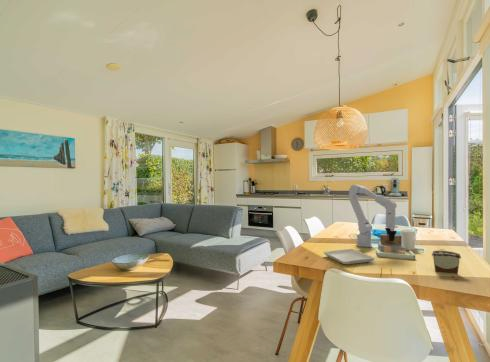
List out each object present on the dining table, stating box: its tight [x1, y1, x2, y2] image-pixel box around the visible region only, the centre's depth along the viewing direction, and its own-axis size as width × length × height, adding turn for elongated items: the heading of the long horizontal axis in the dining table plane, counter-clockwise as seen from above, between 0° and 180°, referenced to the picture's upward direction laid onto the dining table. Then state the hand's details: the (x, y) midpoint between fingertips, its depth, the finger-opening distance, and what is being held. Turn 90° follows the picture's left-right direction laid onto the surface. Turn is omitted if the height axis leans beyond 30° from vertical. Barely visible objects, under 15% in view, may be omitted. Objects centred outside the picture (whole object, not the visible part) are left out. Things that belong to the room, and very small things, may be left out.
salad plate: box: [323, 248, 375, 265], centre depth 160 cm, size 21×21×3 cm
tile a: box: [384, 246, 391, 253], centre depth 171 cm, size 4×4×2 cm
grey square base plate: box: [377, 241, 406, 253], centre depth 179 cm, size 14×13×4 cm
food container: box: [431, 250, 462, 275], centre depth 139 cm, size 12×6×10 cm, turn 71°
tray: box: [375, 247, 416, 261], centre depth 167 cm, size 20×12×2 cm, turn 70°
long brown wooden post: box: [379, 233, 401, 245], centre depth 181 cm, size 12×3×6 cm, turn 70°
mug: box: [400, 229, 417, 251], centre depth 186 cm, size 12×8×12 cm
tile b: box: [397, 250, 406, 254], centre depth 166 cm, size 4×4×2 cm
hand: (390, 239), depth 181 cm, fingers open, 7 cm apart
